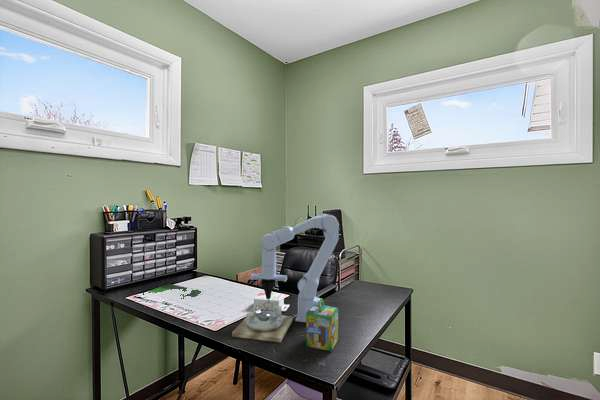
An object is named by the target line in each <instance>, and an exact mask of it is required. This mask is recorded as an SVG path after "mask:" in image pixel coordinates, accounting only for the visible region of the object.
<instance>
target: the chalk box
mask: <svg viewBox="0 0 600 400" xmlns="http://www.w3.org/2000/svg"><path fill="white" fill-rule="evenodd" d="M320 303H321V305H320ZM305 324H306V325H305V326H306V327H305V333H306V334H305V335H306V337H305V339H306V340H305V347H307V348H313V349H318V350H322V351H326V352H330V353H332V351H333V350H334V348H335V346H336V345H337V342H338V341H339V308H338V307H334V306H330V305H325V301H324V299H323V298H322V297H321V299H320V300H319V301H318V305H317V304H314V305H313V306H312V307H311V308H310V309H309V310H308V311H307V312H306V322H305Z"/></svg>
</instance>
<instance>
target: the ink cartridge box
mask: <svg viewBox="0 0 600 400" xmlns="http://www.w3.org/2000/svg"><path fill="white" fill-rule="evenodd" d="M284 301H285V294H278V293H271V298H270V299H266V294H265V292H260V293H259V294H257V295H256V296H255V297H254V298H253V305H257V304H259V305H260V306H261V311H274V307H275V306H280V307H282V312H286V311H288V308H289V307H290V304H285V302H284Z"/></svg>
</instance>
